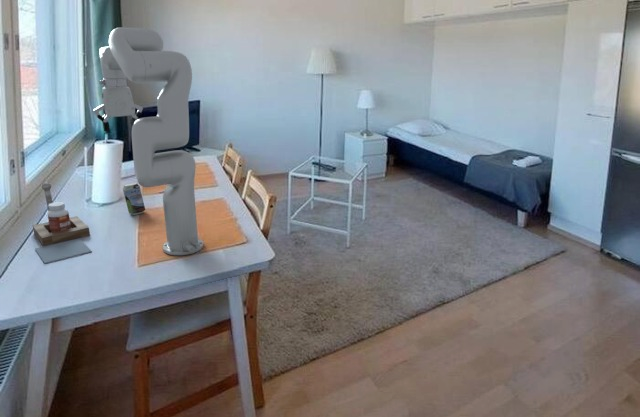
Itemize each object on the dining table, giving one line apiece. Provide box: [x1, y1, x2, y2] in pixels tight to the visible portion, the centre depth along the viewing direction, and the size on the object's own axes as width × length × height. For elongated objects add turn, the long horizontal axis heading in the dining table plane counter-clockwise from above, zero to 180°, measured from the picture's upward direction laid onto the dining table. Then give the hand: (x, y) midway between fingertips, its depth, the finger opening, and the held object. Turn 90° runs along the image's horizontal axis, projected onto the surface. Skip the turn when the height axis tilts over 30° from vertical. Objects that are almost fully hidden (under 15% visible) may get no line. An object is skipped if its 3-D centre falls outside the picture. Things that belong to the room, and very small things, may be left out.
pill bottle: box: [47, 201, 71, 233], centre depth 153 cm, size 6×6×11 cm
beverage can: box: [122, 182, 146, 216], centre depth 173 cm, size 6×7×12 cm
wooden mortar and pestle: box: [32, 182, 91, 247], centre depth 154 cm, size 19×14×16 cm
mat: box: [34, 238, 92, 265], centre depth 142 cm, size 13×13×1 cm
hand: (121, 131), depth 167 cm, fingers open, 9 cm apart
